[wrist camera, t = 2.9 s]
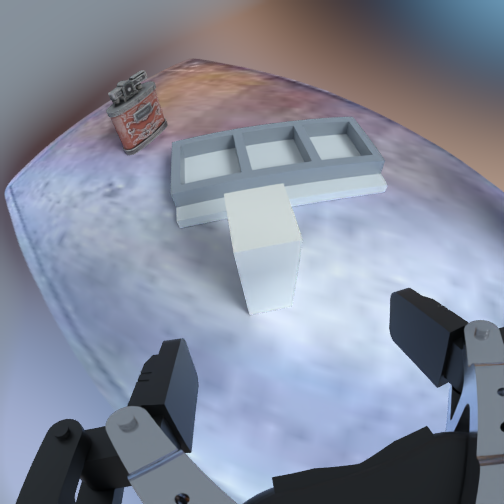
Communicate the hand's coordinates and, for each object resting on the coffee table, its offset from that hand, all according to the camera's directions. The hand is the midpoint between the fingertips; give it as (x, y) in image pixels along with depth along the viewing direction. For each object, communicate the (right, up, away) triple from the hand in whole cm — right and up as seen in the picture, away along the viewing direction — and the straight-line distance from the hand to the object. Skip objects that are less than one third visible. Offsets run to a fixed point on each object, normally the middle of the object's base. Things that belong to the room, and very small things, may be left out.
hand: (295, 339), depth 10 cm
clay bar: (0, 0, +14) cm, 14 cm away
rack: (+1, +13, +21) cm, 24 cm away
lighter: (-17, +20, +27) cm, 37 cm away
